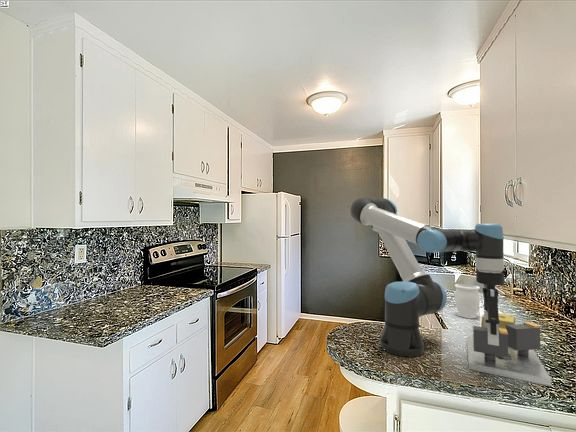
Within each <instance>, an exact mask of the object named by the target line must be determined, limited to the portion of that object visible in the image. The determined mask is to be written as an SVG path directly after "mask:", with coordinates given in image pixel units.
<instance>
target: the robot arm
mask: <svg viewBox="0 0 576 432" xmlns="http://www.w3.org/2000/svg"><path fill="white" fill-rule="evenodd" d="M397 208H398V207H397V205H396V204H395V203H394V201H393V200H390V198H389V199H388V198H386V197H368V196H363V197H362V196H360V197H357V198H356V199H354V200H353V201H352V203H351V204H350V208H349V213H350V217H351V218H352V219H353V220H354V221H355V222H357V223H359V224H362V225H364V226H370V227H371V228H372V231H373V232H377V233H378V234H379V237H380V238H381V241H382V243H383V244H384V247H385V248H386V251H387V252H388V255H389V256H390V258H391V260H392V262H393V264H394V266H395V267H396V270H397V271H398V274H399V276H400V277H401V279H402V281H393V282H390V283H388V284H387V285H386V286H385V288H384V289H385V290H384V325H383V330H382V331H381V335H380V337H379V347H380V346H381V347H382V348H383V349H385V350H386V351H388V352H390V353H389V354H391V353H393V354H392V355H394V354H396V355H395V356H398V355H400V356H399V357H404V356H409V357H408V358H414V357H415V358H416V357H420V356H422V355H423V354H425V344H424V341H423V338H422V335H421V331H420V328H419V327H420V319H419V317H424V316H427V315H433V314H436V313H439V312H441V311H442V310H443V309H444V308H445V306H446V305H447V293H446V290H445V288H444V287H443V285H441V284H440V283H438V282H436V281H434V280H433V279H432V277H431V275H430V274H429V273H427V272H424V271H423V269H422V267H421V265H420V263H419V262H418V260H417V258H416V257H415V255H414V253H413V252H412V249H411V248H410V246H409V244H408V242H410V243H413V244H414V245H417V246H418V247H419V249H420V250H422V251H423V252H426V253H432V254H437V253H443V252H445V253H446V252H460V251H461V252H474V253H475V269H476V270H477V271H476V272H475V273H476V274H475V277H476V280H475V281H476V282H477V283H479V284H481V285H482V284H483V287H482V294H483V295H482V296H483V314H484V327H485V328H488V344H490V345H496V346H499V325H498V324H499V323H500V321H499V314H498V313H499V290H498V288H496V286H502V285H504V284H505V273H504V272H503V271H504V270H505V265H507V261H505V260H504V240H505V237H504V230H503V229H504V228H503V226H502V224H500V223H476V224H475V225H474V226H475V227H474V228H473V229H468V228H467V229H466V228H465V229H463V228H462V229H461V228H460V229H459V228H458V229H457V228H448V229H442V228H441V229H439V228H436V227H433V226H430V225H427V224H425V223H422V222H419V221H416V220H414V219H410V218H407V217H404V216H402V215H399V214H398V213H397V212H398V209H397ZM381 347H380V348H381ZM382 348H381V349H382ZM383 349H382V350H383ZM386 351H385V352H386ZM388 352H387V353H388Z"/></svg>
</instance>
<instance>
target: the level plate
mask: <svg viewBox="0 0 576 432" xmlns="http://www.w3.org/2000/svg"><path fill="white" fill-rule="evenodd" d="M466 347H467V348H466V350H467V351H466V352H467V361H468V362H467V363H468V369H469V370H470V371H475V372H480V373H485V374H490V375H493V376H498V377H499V376H501V377H504V378H509V379H513V380H517V381H522V382H527V383H528V382H529V383H533V384H537V385H541V386H547V387H552V378H551V376H550V375H549V373H548V372H547V370H546V368H545V367H544V365H543V363H542V362H541V360H540V358H539V357H538V354H537V353H536V351H535V349H534V350H529V357H523V356H520V355H518V354H517V351H516V350H514V349H512V348H510V347H508V357H503V356H497V355H496V361H495V362H490V361H487V360H485V359H484V353H481V352H476V351H474V348H473V337H472V338H471V337H467V338H466Z"/></svg>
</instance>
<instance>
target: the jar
mask: <svg viewBox="0 0 576 432" xmlns="http://www.w3.org/2000/svg"><path fill="white" fill-rule="evenodd" d="M454 287H455V292H454V302H455V307H456V310H457V311H458V312H457V313H456V315H457V317H458V316H459V317H460V318H465V319H477V318H478V315H477V313H478V311H479V305H480V292H479V290H480V288H481V287H480V286H478V285H475V284H469V283H456V284H454Z"/></svg>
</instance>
